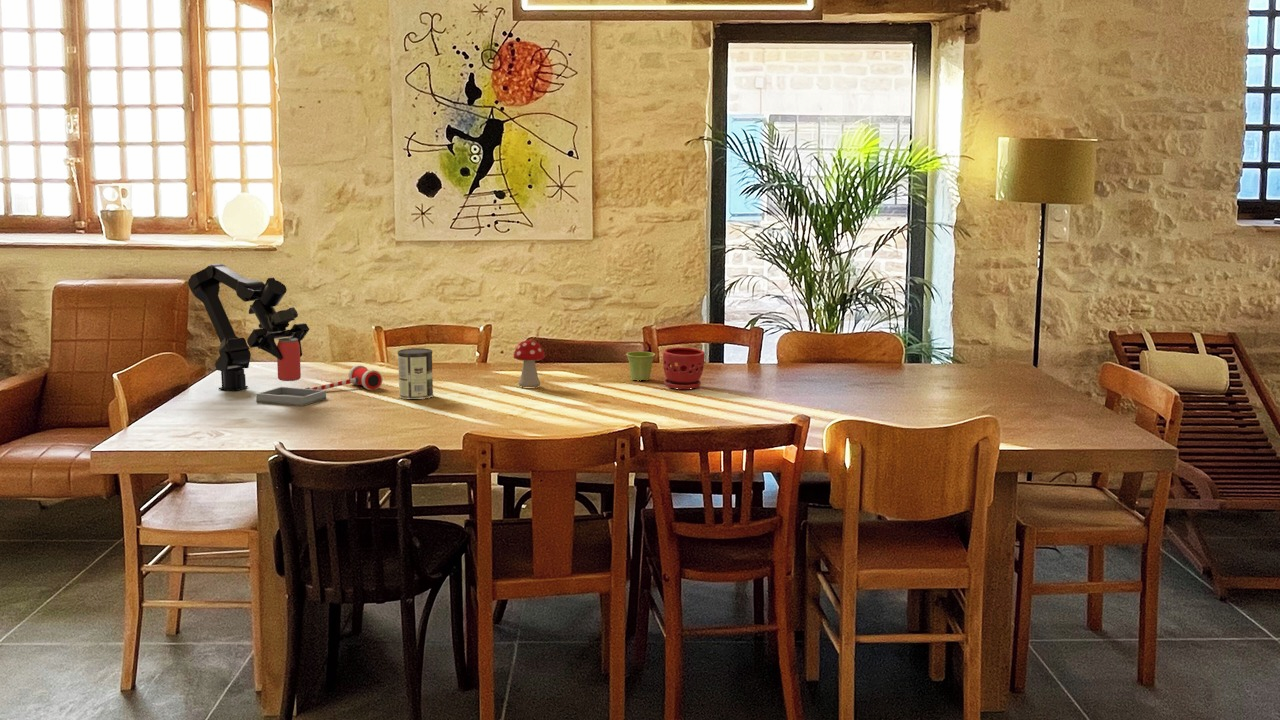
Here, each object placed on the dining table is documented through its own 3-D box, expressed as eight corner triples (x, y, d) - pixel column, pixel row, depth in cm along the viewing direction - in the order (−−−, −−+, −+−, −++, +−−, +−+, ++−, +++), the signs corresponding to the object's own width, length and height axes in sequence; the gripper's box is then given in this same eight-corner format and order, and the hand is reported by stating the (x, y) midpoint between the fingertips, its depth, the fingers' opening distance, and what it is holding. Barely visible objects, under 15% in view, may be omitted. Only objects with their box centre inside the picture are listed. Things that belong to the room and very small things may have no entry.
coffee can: (419, 392, 394) (418, 346, 391) (440, 396, 387) (439, 350, 384) (391, 396, 386) (390, 350, 384) (412, 401, 379) (411, 354, 377)
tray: (256, 402, 377) (256, 393, 376) (281, 394, 388) (280, 386, 387) (302, 406, 371) (302, 397, 371) (326, 398, 382) (325, 390, 382)
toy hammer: (313, 397, 385) (312, 376, 384) (298, 391, 395) (297, 371, 394) (383, 389, 399) (382, 369, 398) (367, 383, 408) (366, 364, 407)
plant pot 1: (660, 379, 418) (660, 353, 416) (644, 383, 410) (645, 357, 408) (636, 376, 423) (636, 350, 421) (620, 380, 415) (620, 354, 413)
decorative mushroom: (547, 385, 406) (547, 338, 404) (542, 390, 398) (542, 342, 395) (516, 384, 407) (516, 337, 405) (511, 389, 399) (510, 341, 396)
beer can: (302, 377, 382) (301, 337, 380) (299, 381, 375) (298, 341, 373) (279, 377, 381) (278, 337, 379) (276, 381, 374) (274, 341, 372)
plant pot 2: (656, 389, 400) (656, 351, 398) (671, 382, 412) (671, 345, 410) (695, 393, 396) (696, 354, 394) (709, 385, 408) (710, 348, 406)
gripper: (251, 302, 369) (276, 344, 364) (304, 296, 383) (329, 337, 379) (236, 326, 375) (260, 368, 370) (289, 319, 390) (313, 359, 385)
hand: (291, 357), depth 376 cm, fingers closed on beer can, 6 cm apart
